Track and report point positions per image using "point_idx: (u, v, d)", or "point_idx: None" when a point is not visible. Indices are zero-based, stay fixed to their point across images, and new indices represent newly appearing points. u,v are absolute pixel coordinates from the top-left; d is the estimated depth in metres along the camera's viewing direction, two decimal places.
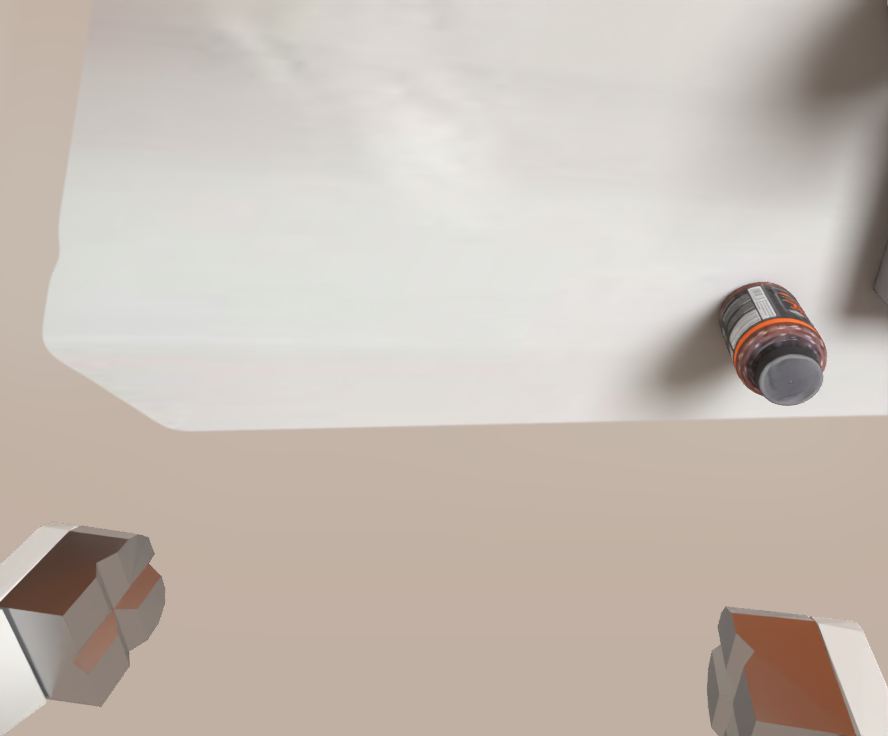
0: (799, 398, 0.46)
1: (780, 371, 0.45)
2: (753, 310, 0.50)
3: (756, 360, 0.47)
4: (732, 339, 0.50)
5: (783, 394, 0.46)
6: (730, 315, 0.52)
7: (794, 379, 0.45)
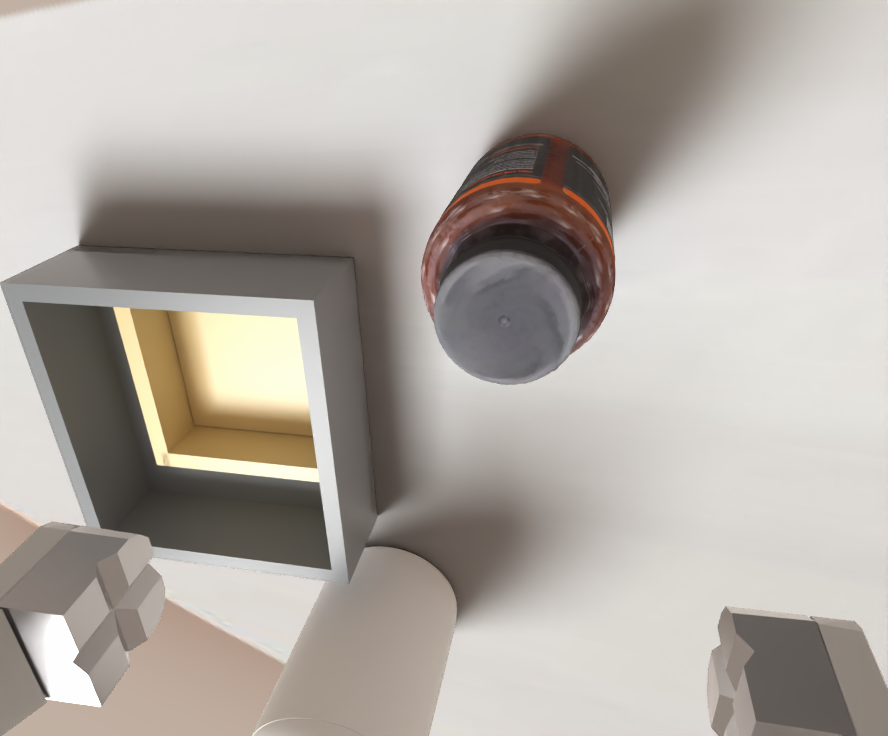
0: (475, 276, 0.18)
1: (533, 347, 0.18)
2: None
3: None
4: None
5: (515, 286, 0.17)
6: None
7: (496, 327, 0.18)
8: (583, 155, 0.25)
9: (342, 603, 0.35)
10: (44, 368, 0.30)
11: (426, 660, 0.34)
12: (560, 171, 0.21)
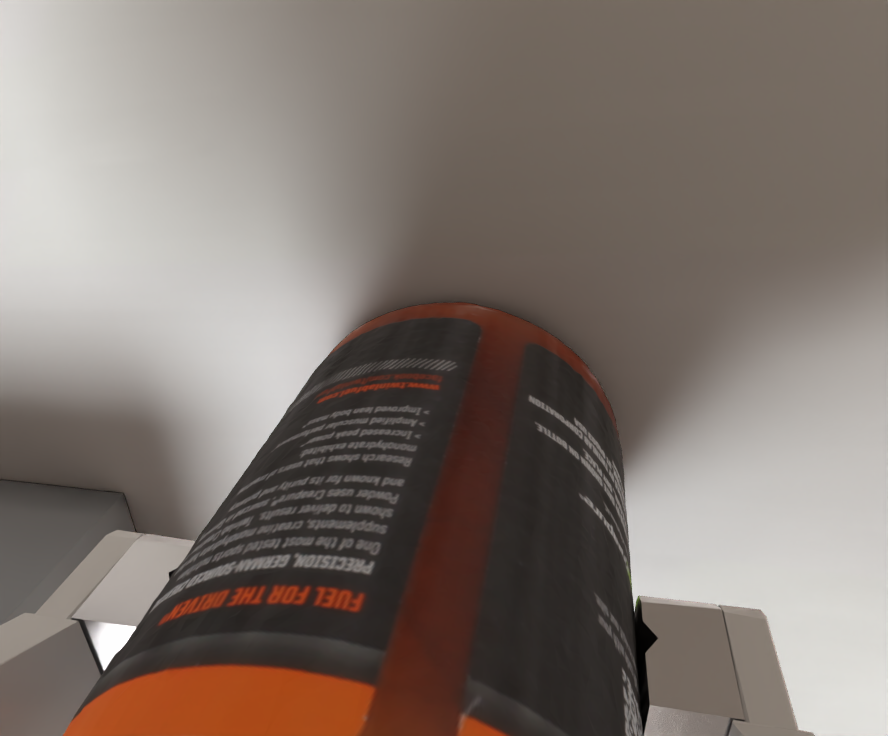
0: None
1: None
2: None
3: None
4: None
5: None
6: None
7: None
8: (559, 370, 0.10)
9: None
10: None
11: None
12: (475, 540, 0.07)
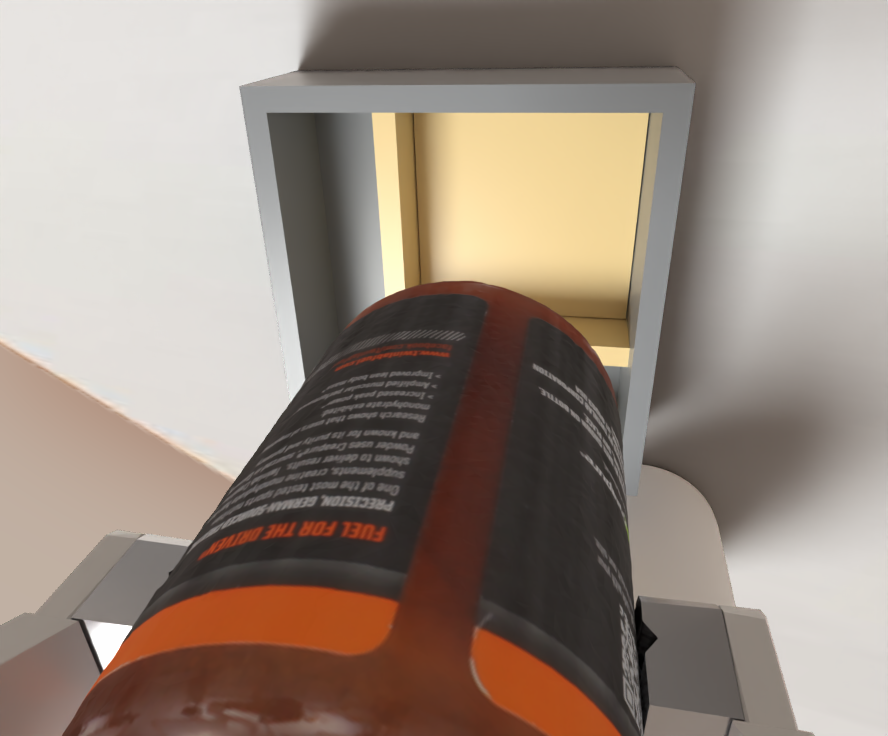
0: None
1: None
2: None
3: None
4: None
5: None
6: None
7: None
8: (561, 342, 0.11)
9: None
10: (279, 211, 0.24)
11: (729, 591, 0.27)
12: (485, 485, 0.07)
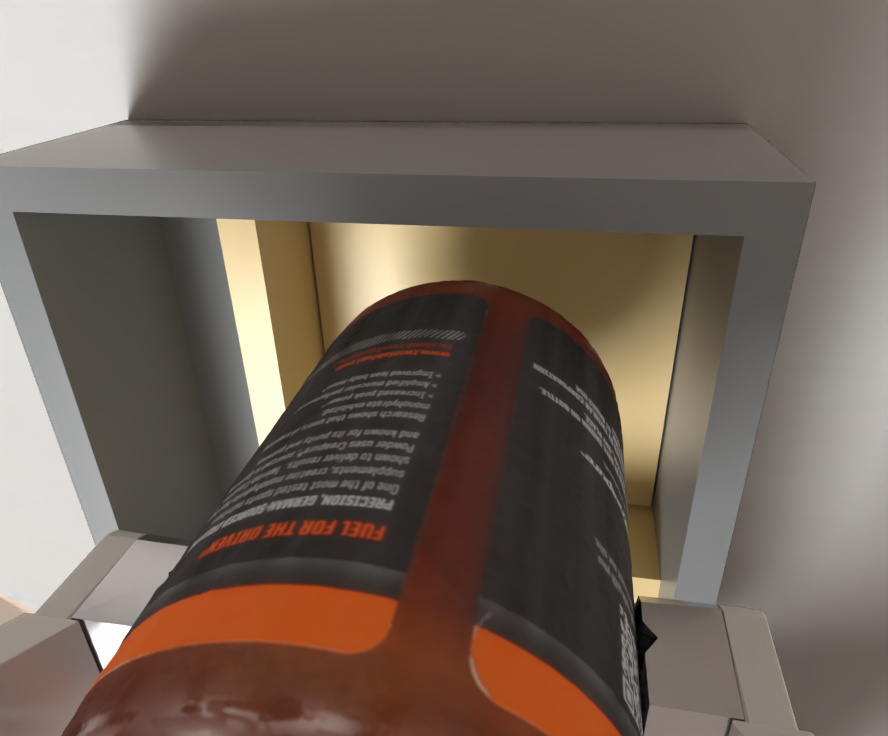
0: None
1: None
2: None
3: None
4: None
5: None
6: None
7: None
8: (562, 342, 0.11)
9: None
10: (63, 369, 0.14)
11: None
12: (485, 484, 0.07)
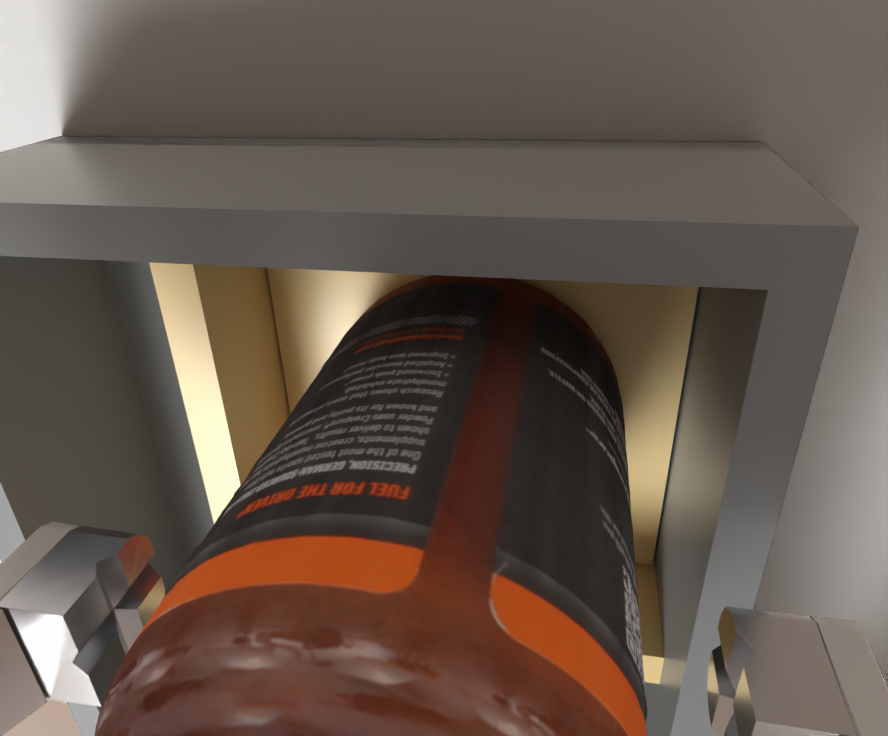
0: None
1: None
2: None
3: None
4: None
5: None
6: None
7: None
8: (567, 329, 0.12)
9: None
10: None
11: None
12: (499, 453, 0.08)
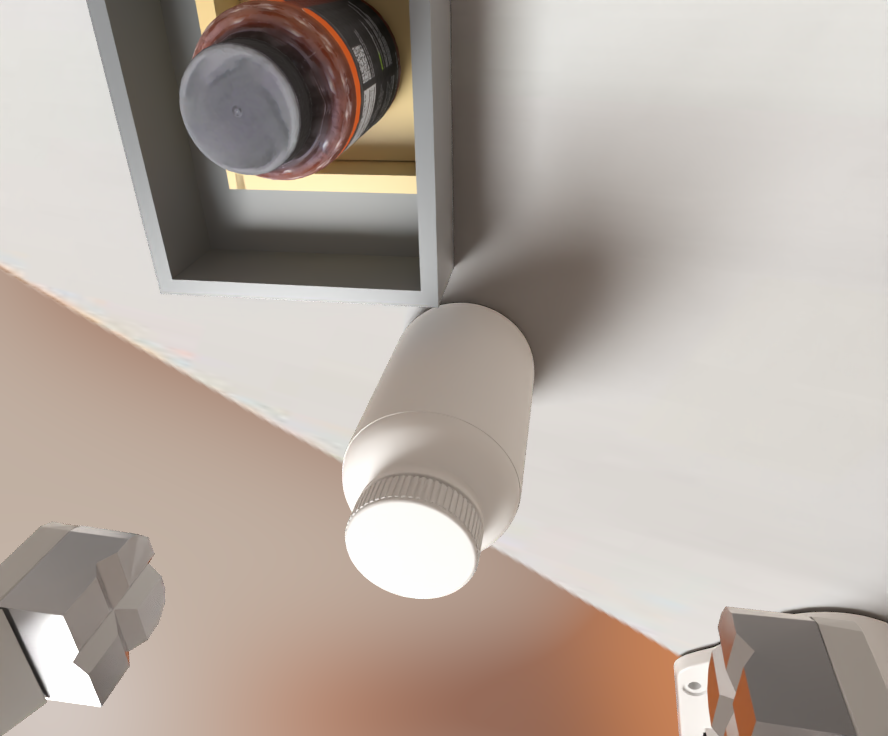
0: (205, 69, 0.21)
1: (265, 135, 0.21)
2: None
3: (317, 120, 0.23)
4: (370, 97, 0.25)
5: (239, 76, 0.21)
6: (385, 102, 0.28)
7: (231, 117, 0.21)
8: (365, 6, 0.28)
9: (426, 339, 0.33)
10: (115, 51, 0.28)
11: (518, 389, 0.32)
12: (317, 3, 0.24)
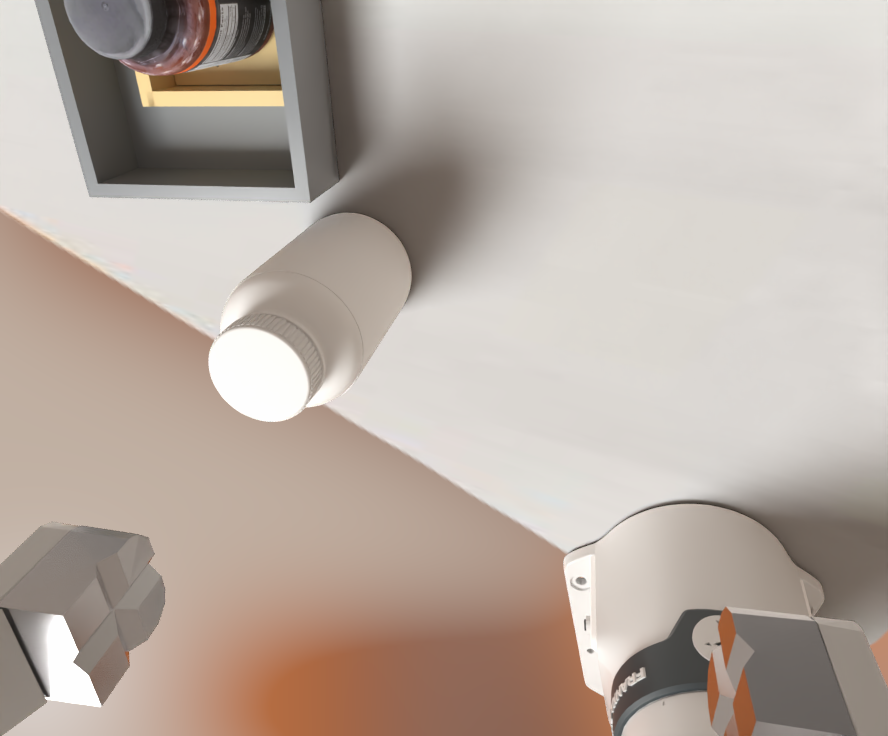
0: None
1: (127, 25, 0.28)
2: (223, 57, 0.34)
3: (173, 19, 0.29)
4: (230, 12, 0.32)
5: None
6: (255, 25, 0.35)
7: (101, 11, 0.28)
8: None
9: (306, 233, 0.40)
10: None
11: (378, 272, 0.38)
12: None
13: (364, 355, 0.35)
